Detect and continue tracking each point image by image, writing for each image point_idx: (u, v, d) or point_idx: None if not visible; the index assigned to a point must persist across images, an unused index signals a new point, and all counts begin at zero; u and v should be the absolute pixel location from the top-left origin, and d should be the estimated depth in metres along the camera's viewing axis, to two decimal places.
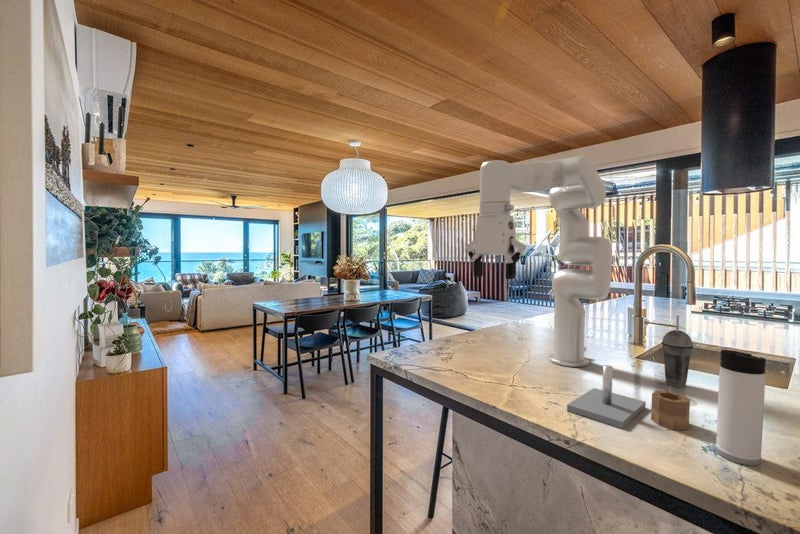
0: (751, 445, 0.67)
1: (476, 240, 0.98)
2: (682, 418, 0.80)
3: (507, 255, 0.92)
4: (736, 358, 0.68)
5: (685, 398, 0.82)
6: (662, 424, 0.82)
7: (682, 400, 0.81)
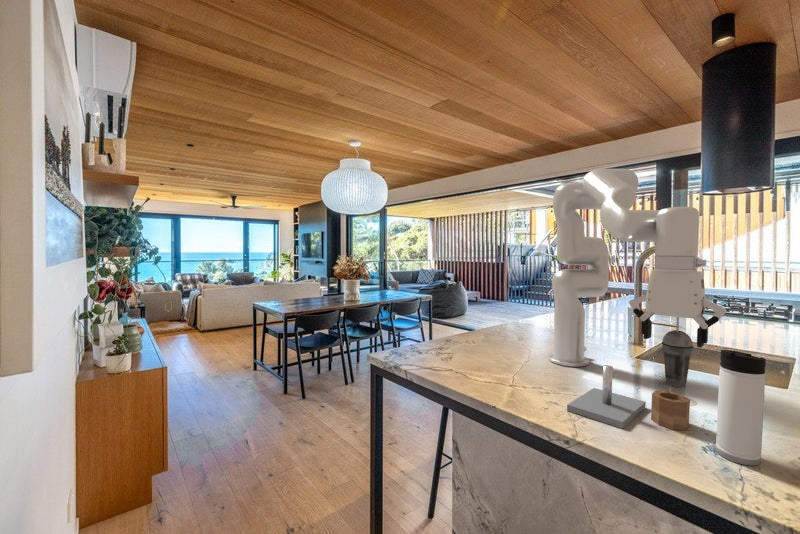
0: (751, 445, 0.67)
1: (650, 297, 0.84)
2: (682, 418, 0.80)
3: (699, 319, 0.78)
4: (736, 358, 0.68)
5: (685, 398, 0.82)
6: (662, 424, 0.82)
7: (682, 400, 0.81)
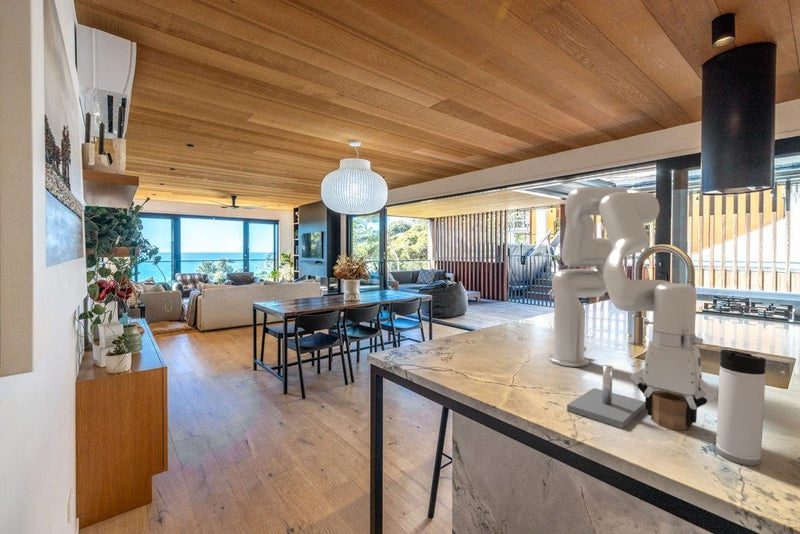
0: (751, 445, 0.67)
1: (647, 370, 0.85)
2: (682, 418, 0.80)
3: (691, 399, 0.80)
4: (736, 358, 0.68)
5: (685, 398, 0.82)
6: (662, 424, 0.82)
7: (682, 400, 0.81)
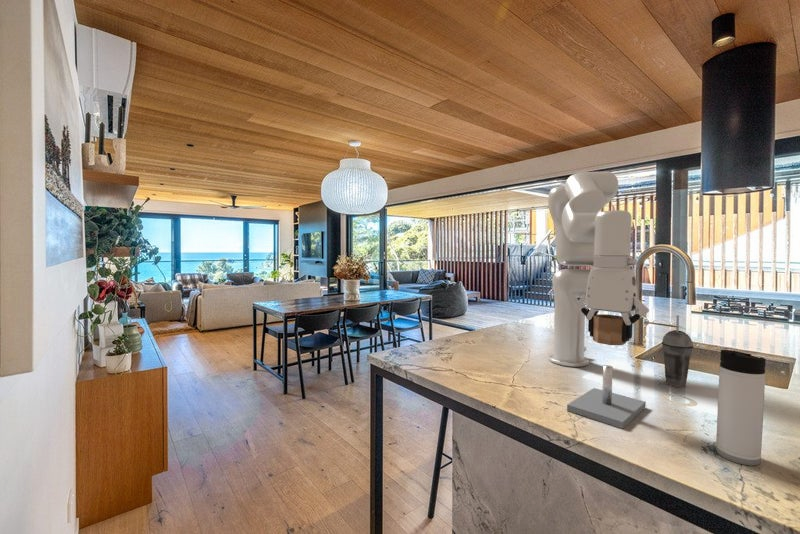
0: (751, 445, 0.67)
1: (589, 294, 0.91)
2: (619, 334, 0.86)
3: (626, 316, 0.86)
4: (736, 358, 0.68)
5: (622, 317, 0.88)
6: (601, 341, 0.88)
7: (619, 318, 0.87)
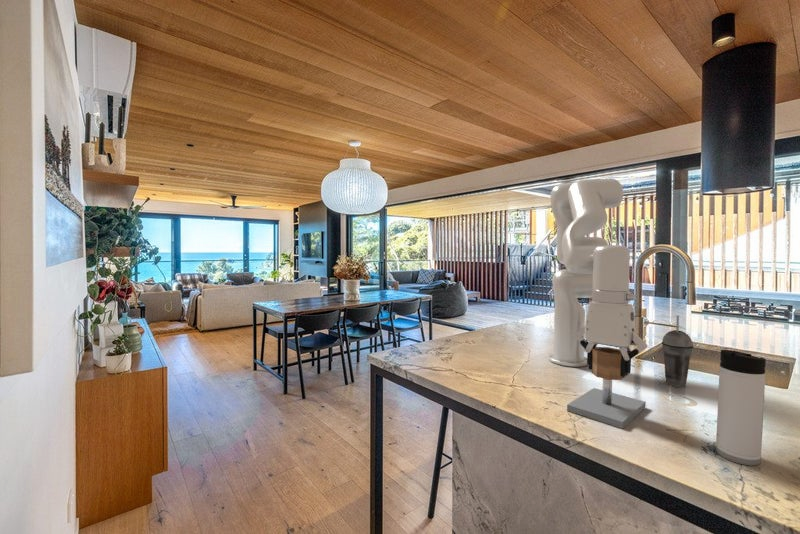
0: (751, 445, 0.67)
1: (588, 327, 0.91)
2: (617, 369, 0.87)
3: (624, 351, 0.86)
4: (736, 358, 0.68)
5: None
6: (600, 376, 0.88)
7: (617, 353, 0.87)
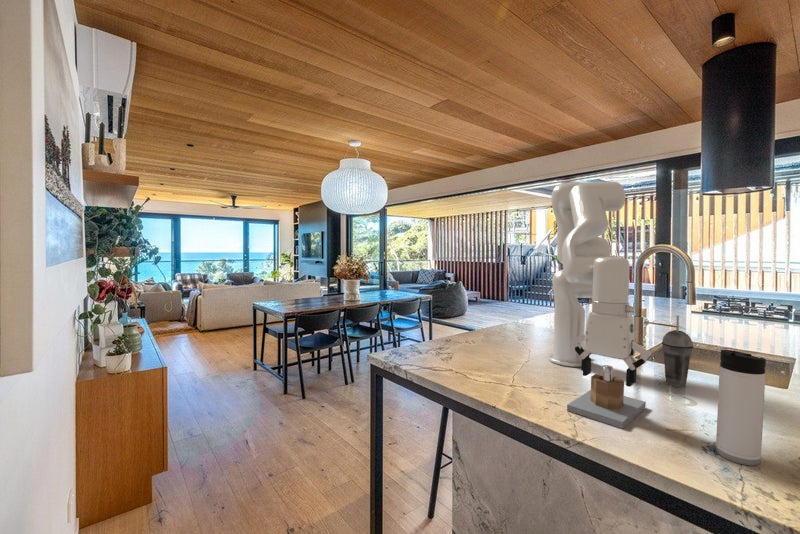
0: (751, 445, 0.67)
1: (587, 338, 0.91)
2: (616, 398, 0.87)
3: (628, 361, 0.86)
4: (736, 358, 0.68)
5: (620, 380, 0.89)
6: (598, 404, 0.89)
7: (616, 382, 0.88)
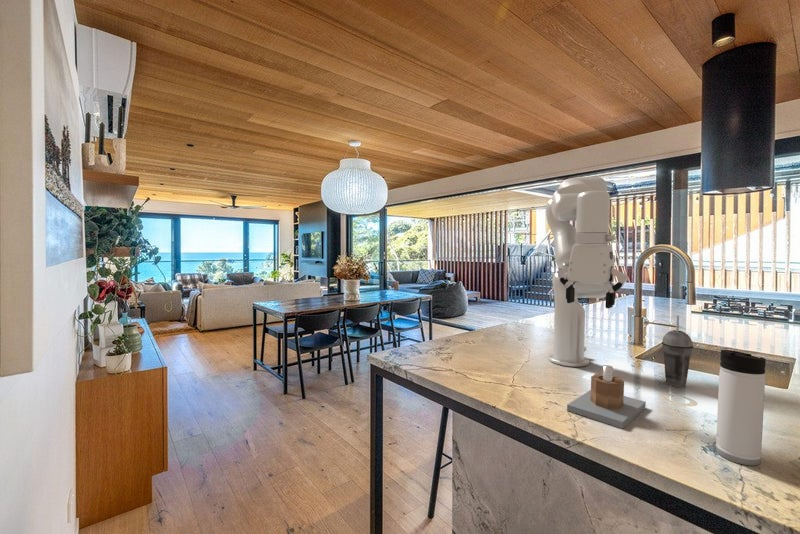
0: (751, 445, 0.67)
1: (571, 268, 0.99)
2: (616, 398, 0.87)
3: (608, 285, 0.94)
4: (736, 358, 0.68)
5: (620, 380, 0.89)
6: (598, 404, 0.89)
7: (616, 382, 0.88)
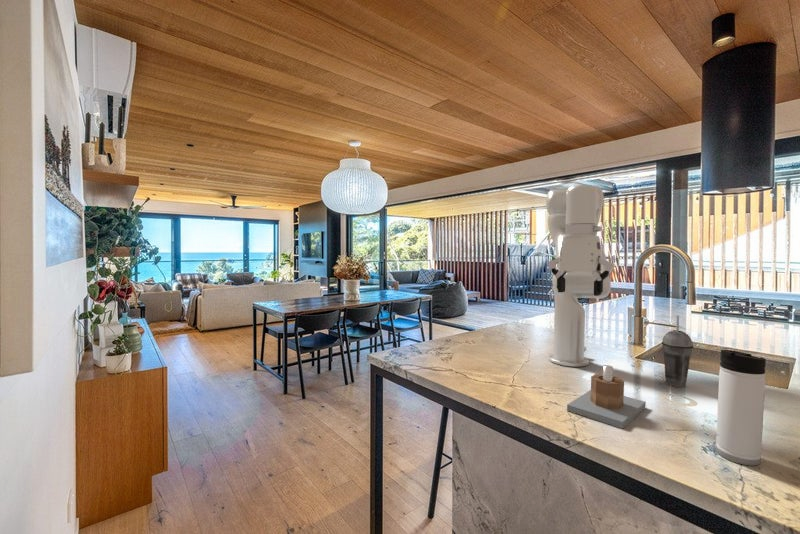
0: (751, 445, 0.67)
1: (561, 258, 1.04)
2: (616, 398, 0.87)
3: (595, 273, 0.99)
4: (736, 358, 0.68)
5: (620, 380, 0.89)
6: (598, 404, 0.89)
7: (616, 382, 0.88)
